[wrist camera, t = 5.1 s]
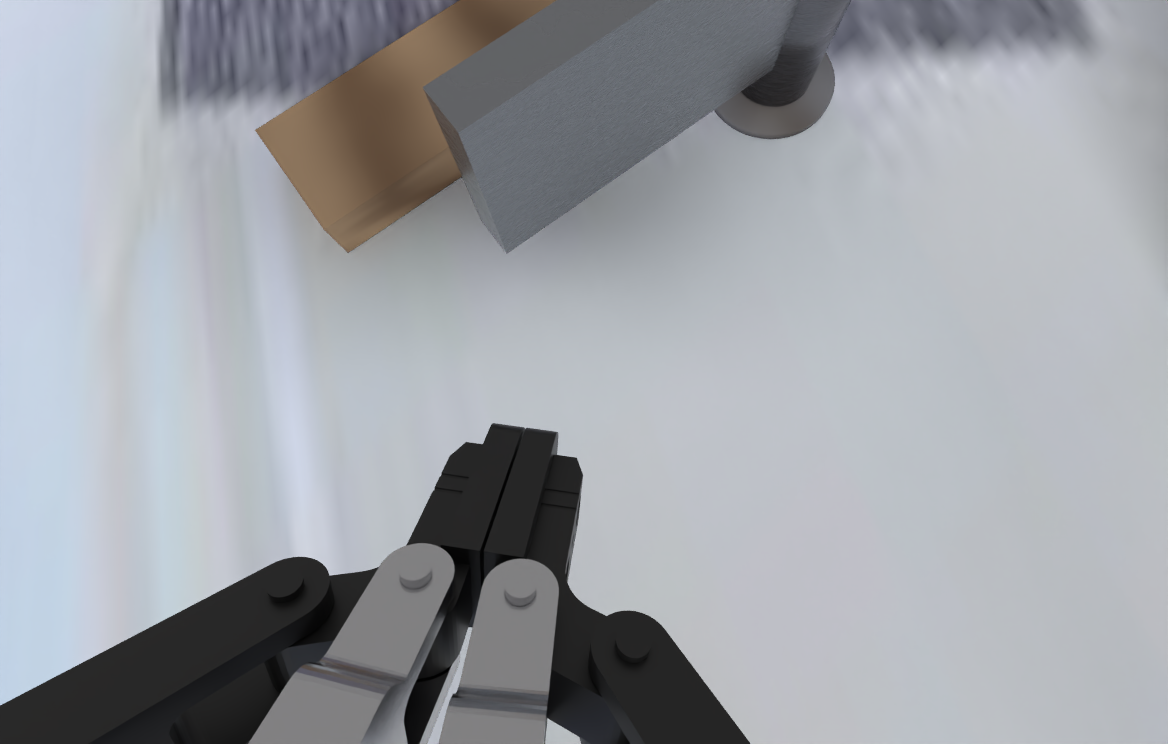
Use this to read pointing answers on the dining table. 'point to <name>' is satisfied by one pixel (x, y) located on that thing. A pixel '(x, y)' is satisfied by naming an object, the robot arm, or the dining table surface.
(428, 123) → the door edge
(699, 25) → the bar
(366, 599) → the robot arm
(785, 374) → the dining table surface
